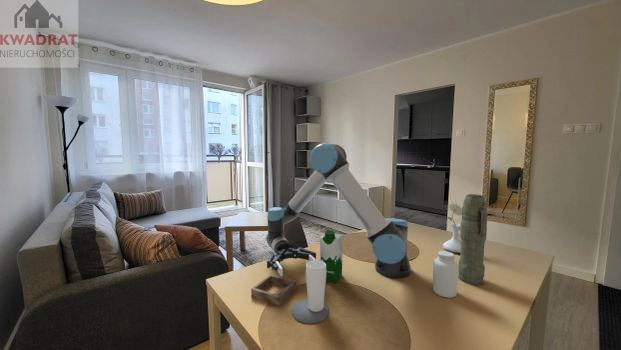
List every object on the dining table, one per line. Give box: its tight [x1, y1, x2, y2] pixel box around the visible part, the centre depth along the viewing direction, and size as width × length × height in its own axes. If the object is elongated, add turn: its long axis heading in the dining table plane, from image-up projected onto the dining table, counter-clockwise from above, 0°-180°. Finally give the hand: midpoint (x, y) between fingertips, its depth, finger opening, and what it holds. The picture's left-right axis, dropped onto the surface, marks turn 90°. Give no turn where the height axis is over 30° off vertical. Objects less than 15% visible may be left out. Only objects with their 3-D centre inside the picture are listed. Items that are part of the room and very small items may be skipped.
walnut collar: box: [250, 274, 297, 307], centre depth 93 cm, size 12×12×3 cm
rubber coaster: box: [291, 298, 329, 325], centre depth 82 cm, size 12×12×1 cm
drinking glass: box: [305, 259, 327, 312], centre depth 82 cm, size 7×7×15 cm
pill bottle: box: [432, 250, 459, 299], centre depth 92 cm, size 8×8×15 cm
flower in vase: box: [442, 202, 462, 254], centre depth 132 cm, size 13×11×25 cm
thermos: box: [457, 193, 489, 286], centre depth 100 cm, size 9×12×35 cm
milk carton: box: [319, 230, 344, 284], centre depth 103 cm, size 9×9×20 cm
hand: (299, 268), depth 90 cm, fingers open, 13 cm apart
